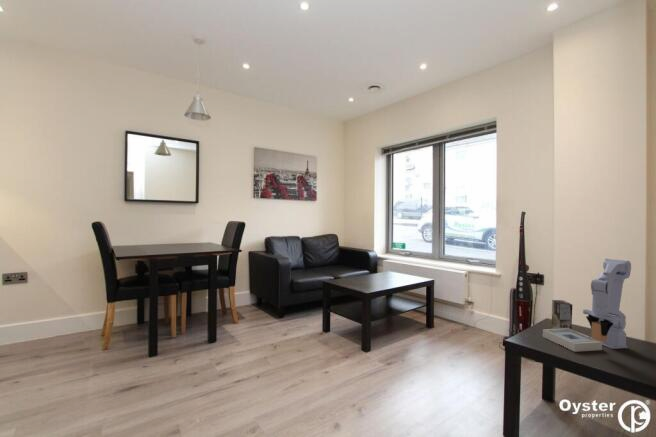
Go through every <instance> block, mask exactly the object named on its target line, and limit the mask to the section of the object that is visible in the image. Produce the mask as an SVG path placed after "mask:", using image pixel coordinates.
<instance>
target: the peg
mask: <svg viewBox="0 0 656 437" xmlns="http://www.w3.org/2000/svg"><path fill="white" fill-rule="evenodd" d="M590 333H591V335H590V337H591V338H592V339H594V340H597V341H599V342H603V341H607V336H603V335H602V332H601V324H600V322H599V321H598V322H592V329H591V332H590Z"/></svg>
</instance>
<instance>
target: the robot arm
mask: <svg viewBox="0 0 656 437" xmlns="http://www.w3.org/2000/svg"><path fill="white" fill-rule="evenodd" d="M602 266H603V270H604V271H601V272H600V273H599V274H598V276H597V277H596V279H592V280H591V282H590V290H591V295H592V302H591V303H592V304H591V305H592V308H591V310H589V309H583V310H582V313H583V314H584V315H586V317H585V318H586V319H587V321H588V324H589V326H590V329H591V330H592V322H598V321H599V322H600V324H601V332H602V335H603V336H607V341H603V342H602V346H604V347H606V348H609V349H612V350H615V349H617V350H618V349H628V348H629V347H628V346H627V334H626V331H625V329H626V324H627V322H626V318H627V317H626V315H625V313H624V312H622V311H621V310H620V307H621V300H622V293H623V286H624V282H625V280H627V279H629V278H630V276H631V272H632V263H631V261H630V260H623V259H622V260H621V259H620V260H619V259H612V258H605V259H604V260H603V264H602Z"/></svg>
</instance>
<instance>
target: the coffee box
mask: <svg viewBox="0 0 656 437" xmlns="http://www.w3.org/2000/svg"><path fill="white" fill-rule="evenodd" d="M551 303H552V304H551V328H552V329H564V328H569V329H572V327H573V326H572V325H573V304H572V303H570V302H568V301H566V300H561V299H560V300H559V299H552V300H551ZM572 330H573V329H572Z"/></svg>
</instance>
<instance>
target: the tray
mask: <svg viewBox="0 0 656 437" xmlns="http://www.w3.org/2000/svg"><path fill="white" fill-rule="evenodd" d="M542 337H543V338H545V339H546V340H548V341H550V342H552V343H555V344H556V345H559V344H560V345H559V346H561V345H562V346H561V347H563V346H564V348H565V347H566V349H567V348H568V350H569V351H572V352H574V353H575V352H576V353H577V352H589V351H590V352H591V351H603V345H602V342H599V341H597V340H594V339H592V338H591V336H589V335H587V334H584V333H581V332H579V331H576V330H574V329H569V328H564V329H555V328H550V329H549V328H547V329H542Z"/></svg>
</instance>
